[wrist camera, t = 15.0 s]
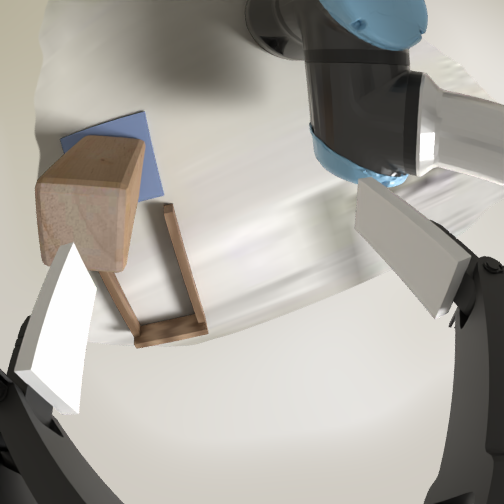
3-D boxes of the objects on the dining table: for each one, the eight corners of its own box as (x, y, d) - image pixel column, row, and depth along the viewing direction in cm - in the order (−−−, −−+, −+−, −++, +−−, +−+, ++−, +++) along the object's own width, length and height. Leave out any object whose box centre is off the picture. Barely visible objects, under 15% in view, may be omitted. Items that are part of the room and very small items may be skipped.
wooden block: (147, 138, 40) (130, 187, 24) (139, 198, 45) (125, 277, 29) (84, 133, 37) (30, 180, 21) (81, 193, 42) (40, 269, 26)
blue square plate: (144, 111, 38) (144, 111, 38) (164, 194, 47) (163, 195, 46) (61, 138, 36) (60, 139, 36) (86, 215, 45) (86, 216, 44)
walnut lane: (172, 203, 48) (173, 217, 44) (205, 316, 64) (208, 333, 60) (85, 226, 46) (79, 242, 42) (137, 331, 62) (136, 348, 58)
